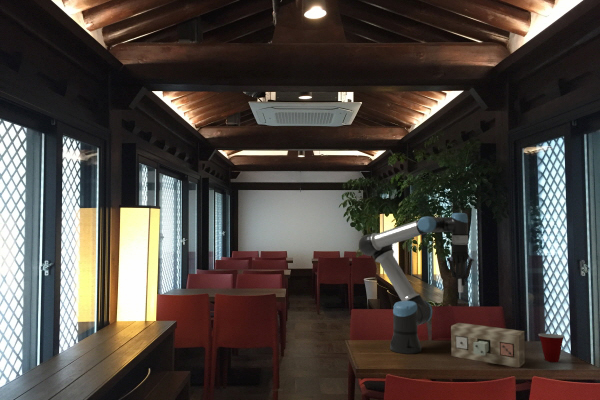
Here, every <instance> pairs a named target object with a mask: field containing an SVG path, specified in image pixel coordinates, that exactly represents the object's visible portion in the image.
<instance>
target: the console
mask: <svg viewBox="0 0 600 400" xmlns="http://www.w3.org/2000/svg"><path fill="white" fill-rule="evenodd" d="M450 326H451V327H450V336H451V337H450V338H451V339H450V341H451V342H450V343H451V344H450V345H451V348H450V349H451V354H450V355H451V357H453V358H454V357H456V358H460V359H466V360H473V361H477V362H484V363H488V364H496V365H500V366H507V367H512V368H517V367H520V368H521V367H522V366H523V365H524V364H525V363H526V358H525V357H526V353H525V352H526V351H525V349H526V348H525V347H526V346H525V330H520V329H519V330H518V329H517V330H516V329H509V328H501V327H496V326H495V327H494V326H488V325H479V324H471V323H462V322H457V323H455V324H452V325H450ZM456 336H459V337H460V336H463V337H468V349H463V348H457V347H456ZM480 340H481V341H488V342H489V351H488V352H486V355H485V356H484V355H478V354H474V347H473V342H478V341H480ZM501 343H511V344H514V354H513V356H507V355H501Z"/></svg>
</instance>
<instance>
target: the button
mask: <svg viewBox="0 0 600 400" xmlns="http://www.w3.org/2000/svg"><path fill="white" fill-rule="evenodd" d="M456 347H457V348H463V349H468V337H463V336H460V337H459V336H456Z"/></svg>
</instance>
